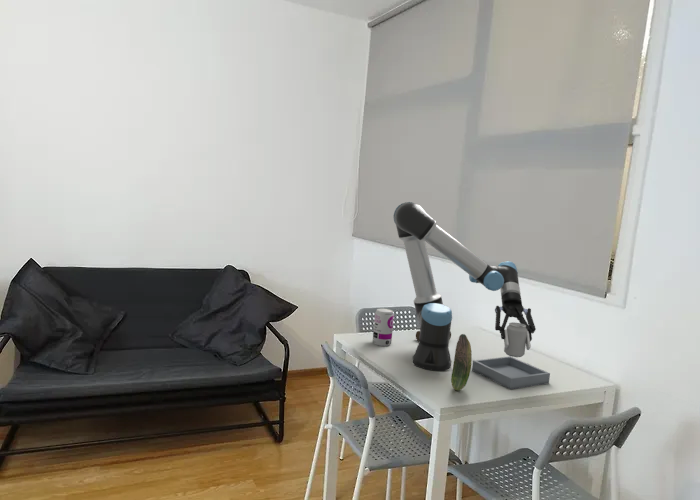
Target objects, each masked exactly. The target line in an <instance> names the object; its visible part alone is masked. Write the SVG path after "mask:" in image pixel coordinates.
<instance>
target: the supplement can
mask: <svg viewBox="0 0 700 500" xmlns="http://www.w3.org/2000/svg"><path fill="white" fill-rule="evenodd" d="M394 317H395V314H394V310H392V309H389V308H383V307H382V308H377V309H376V311H375V312H374V323H373V333H372V343H373V344H374V345H376V346H380V347H389V346H390V345H391V344H392V339H393V332H394V331H393V329H394Z"/></svg>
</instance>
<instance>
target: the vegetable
mask: <svg viewBox="0 0 700 500" xmlns="http://www.w3.org/2000/svg"><path fill="white" fill-rule="evenodd" d="M471 346H472V345H471V342H470V341H469V339H468V336H467V335H466V334H465V333H462V334H460V335H459V337H458V340H457V342H456V345H455V351H454V357H453V358H454V359H453V363H452V364H453V365H452V372H451V379H450V381H451V382H450V383H451V386H452V388H453V390H454V391H459V392H460V391H462V390H463V389H465V387H466V385H467V383H468V381H469V378H470V373H471V371H472V363H473V358H472V347H471Z"/></svg>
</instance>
